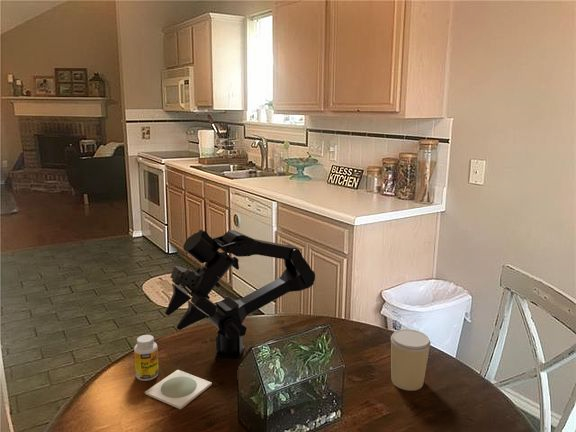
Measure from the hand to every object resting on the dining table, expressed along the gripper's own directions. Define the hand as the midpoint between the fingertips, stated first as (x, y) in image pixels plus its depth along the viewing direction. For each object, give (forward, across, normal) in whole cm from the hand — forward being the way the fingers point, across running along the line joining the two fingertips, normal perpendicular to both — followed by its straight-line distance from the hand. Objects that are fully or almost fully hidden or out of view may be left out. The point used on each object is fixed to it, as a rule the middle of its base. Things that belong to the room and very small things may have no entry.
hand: (172, 321), depth 119 cm
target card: (+11, +10, +8) cm, 16 cm away
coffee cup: (-24, +34, +43) cm, 61 cm away
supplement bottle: (+14, 0, +4) cm, 15 cm away
